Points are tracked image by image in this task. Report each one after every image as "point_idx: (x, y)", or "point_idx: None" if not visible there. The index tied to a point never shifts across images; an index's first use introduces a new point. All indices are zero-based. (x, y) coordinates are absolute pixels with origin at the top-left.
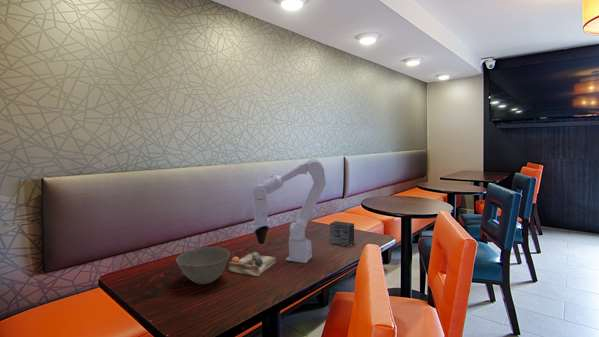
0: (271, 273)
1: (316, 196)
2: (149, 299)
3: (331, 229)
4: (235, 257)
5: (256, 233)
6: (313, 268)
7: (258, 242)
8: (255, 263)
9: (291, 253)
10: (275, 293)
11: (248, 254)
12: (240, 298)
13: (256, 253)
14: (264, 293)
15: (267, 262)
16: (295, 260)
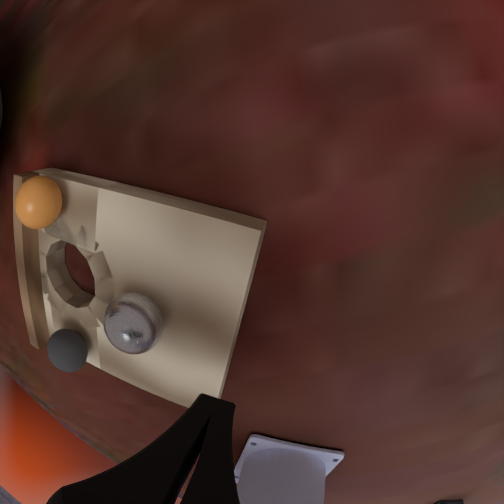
0: (97, 374)
1: None
2: None
3: None
4: (16, 210)
5: (112, 477)
6: None
7: (195, 400)
8: (54, 332)
9: (244, 478)
10: (20, 371)
11: (237, 228)
12: None
13: (114, 346)
14: (7, 346)
15: (131, 378)
16: (240, 462)
